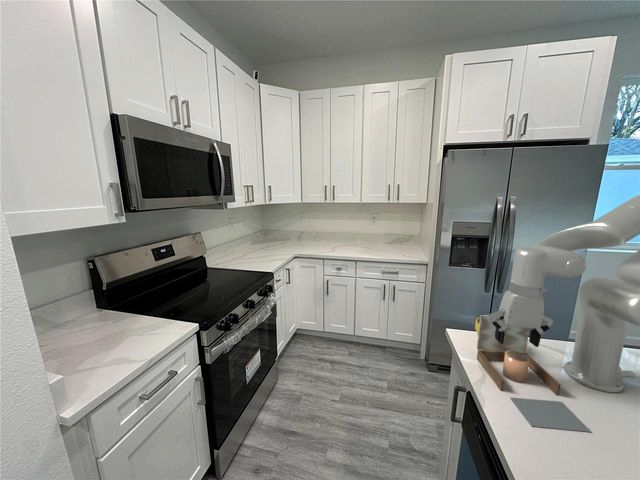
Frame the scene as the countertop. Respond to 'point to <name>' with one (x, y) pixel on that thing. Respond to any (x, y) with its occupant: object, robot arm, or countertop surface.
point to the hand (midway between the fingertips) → (516, 342)
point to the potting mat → (548, 414)
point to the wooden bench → (512, 341)
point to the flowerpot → (515, 366)
